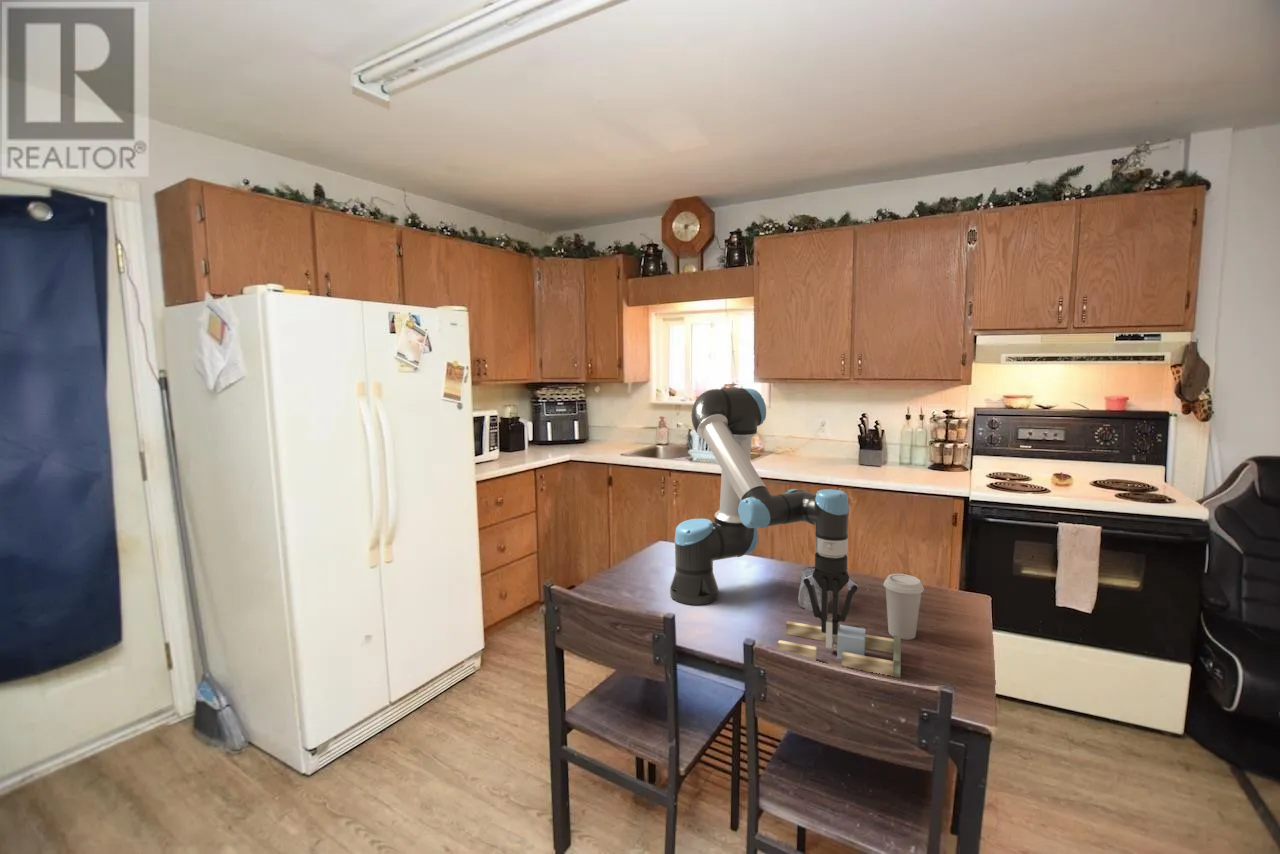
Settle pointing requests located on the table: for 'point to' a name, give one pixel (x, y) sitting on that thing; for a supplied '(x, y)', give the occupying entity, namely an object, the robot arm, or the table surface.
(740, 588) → the table surface
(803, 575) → the stone
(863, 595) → the table surface
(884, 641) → the channel
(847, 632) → the block
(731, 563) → the table surface
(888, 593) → the coffee cup
